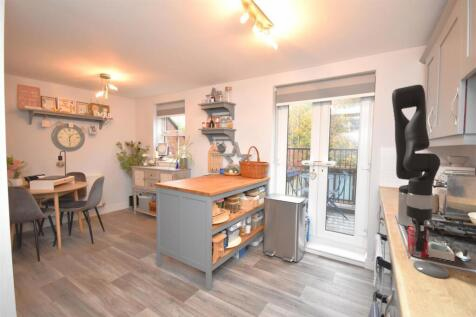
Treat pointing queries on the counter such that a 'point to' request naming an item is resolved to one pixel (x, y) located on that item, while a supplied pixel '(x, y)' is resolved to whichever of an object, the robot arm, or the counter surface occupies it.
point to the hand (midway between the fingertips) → (417, 246)
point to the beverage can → (412, 243)
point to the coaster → (431, 269)
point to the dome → (439, 246)
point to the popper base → (441, 253)
